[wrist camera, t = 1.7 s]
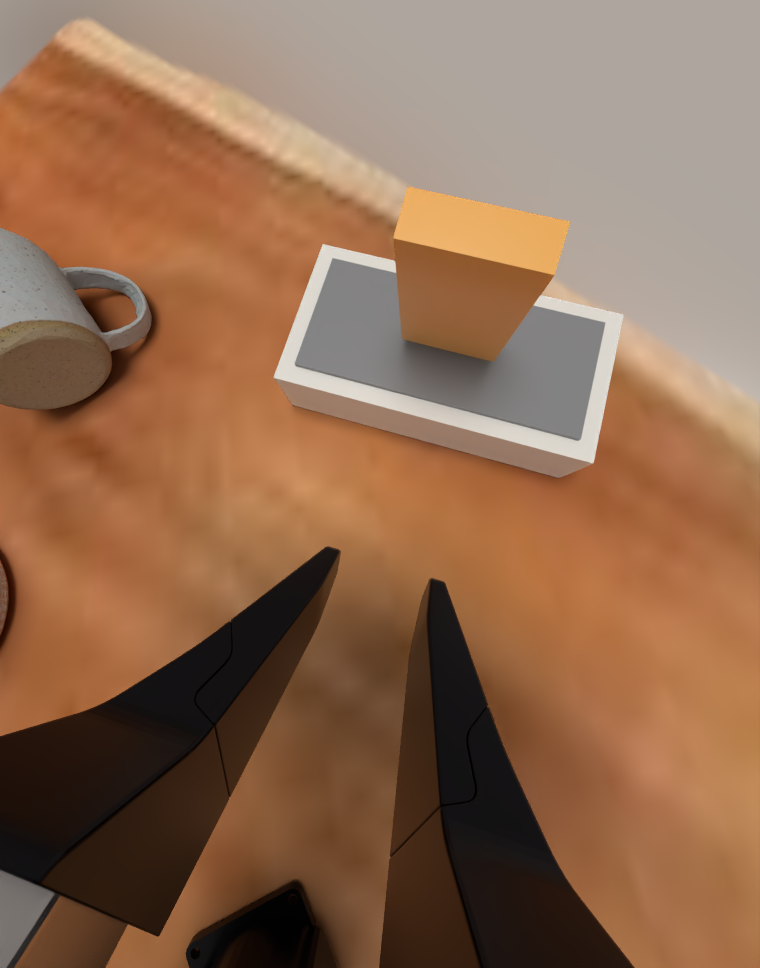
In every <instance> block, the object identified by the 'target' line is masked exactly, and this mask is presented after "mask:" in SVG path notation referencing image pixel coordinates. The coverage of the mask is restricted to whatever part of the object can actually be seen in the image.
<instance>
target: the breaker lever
mask: <svg viewBox="0 0 760 968" xmlns="http://www.w3.org/2000/svg"><path fill="white" fill-rule="evenodd" d="M569 225H570V221H565V220H560V219H556V218H551V217H546V216H542V215H537V214H533V213H528V212H523V211H519V210H514V209H509V208H504V207H500V206H495V205H490V204H486V203H481V202H477V201H472V200H468V199H463V198H458V197H454V196H449V195H445V194H440V193H435V192H430V191H426V190H422V189H417V188H412V187H407V190H406V194H405V198H404V201H403V205H402V209H401V212H400V216H399V219H398V223H397V227H396V230H395V234H394V238H393V240H394V252H395V264H396V275H397V287H398V299H399V310H400V322H401V334H402V339H404V340H408V341H412V342H416V343H420V344H424V345H428V346H432V347H436V348H440V349H444V350H448V351H452V352H456V353H460V354H463V355H467V356H471V357H475V358H479V359H483V360H487V361H491V362H494V361H495V359H496V358H497V356H498V355H499V353H500V352H501V351H502V349H503V348H504V346H505V345H506V343H507V342H508V341H509V339H510V338H511V336H512V335H513V333H514V332H515V331H516V329H517V328H518V326H519V325H520V324H521V322H522V321H523V319H524V318H525V316H526V315H527V314H528V312H529V311H530V309H531V308H532V306H533V305H534V304H535V302H536V301H537V299H538V298H539V296H540V295H541V294H542V292H543V291H544V289H545V288H546V287H547V285H548V284H549V282H550V281H551V279H552V278H553V277H554V275H555V272H556V268H557V265H558V262H559V258H560V255H561V251H562V248H563V245H564V241H565V238H566V235H567V231H568V228H569Z"/></svg>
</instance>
